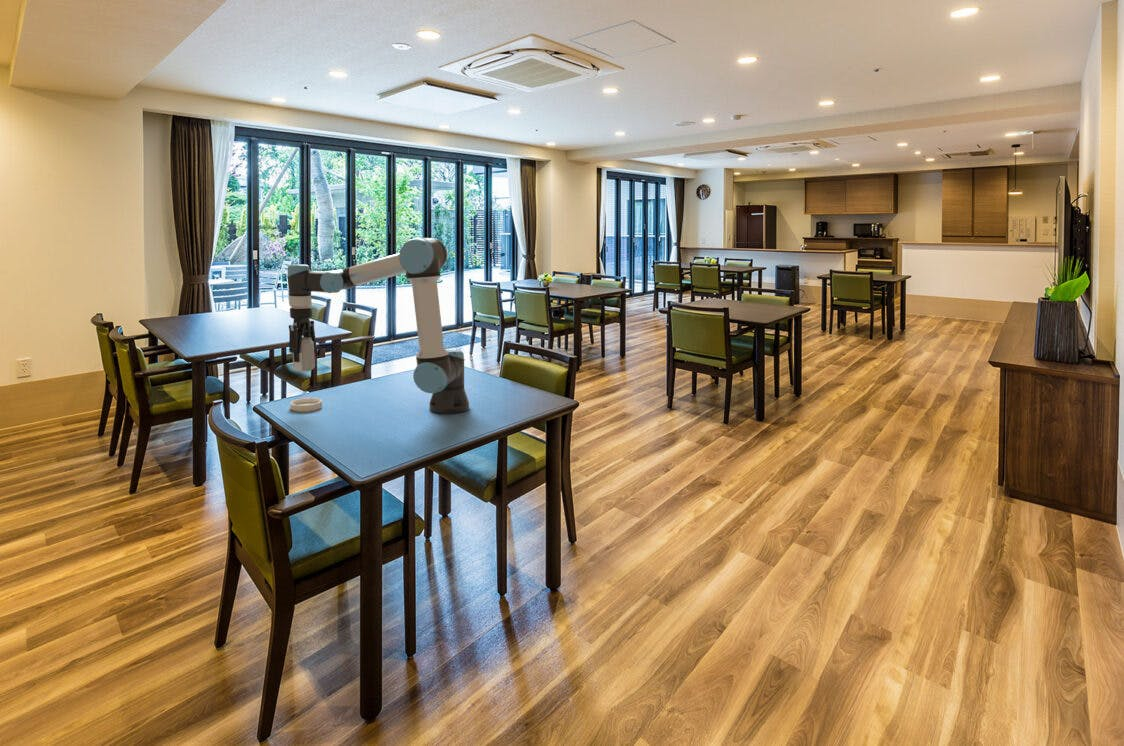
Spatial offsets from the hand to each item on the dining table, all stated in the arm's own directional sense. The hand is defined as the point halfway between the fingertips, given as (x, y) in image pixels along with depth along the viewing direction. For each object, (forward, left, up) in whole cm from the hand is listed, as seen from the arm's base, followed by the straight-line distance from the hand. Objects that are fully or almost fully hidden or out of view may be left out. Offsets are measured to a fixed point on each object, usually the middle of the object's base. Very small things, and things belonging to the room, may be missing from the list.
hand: (304, 367), depth 231 cm
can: (0, 0, -1) cm, 1 cm away
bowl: (0, 0, -16) cm, 16 cm away
